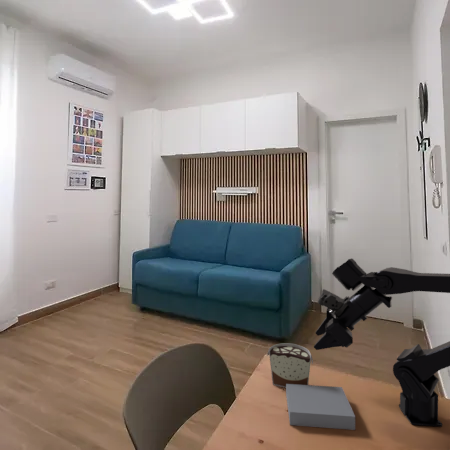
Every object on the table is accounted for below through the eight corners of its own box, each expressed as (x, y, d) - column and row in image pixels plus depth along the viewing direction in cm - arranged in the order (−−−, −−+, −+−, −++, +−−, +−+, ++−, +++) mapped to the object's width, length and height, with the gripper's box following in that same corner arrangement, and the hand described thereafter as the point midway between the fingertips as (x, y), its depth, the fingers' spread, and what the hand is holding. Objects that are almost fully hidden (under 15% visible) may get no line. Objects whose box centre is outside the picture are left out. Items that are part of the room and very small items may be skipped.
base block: (341, 398, 76) (341, 387, 75) (355, 429, 65) (355, 416, 65) (286, 395, 77) (286, 383, 77) (289, 424, 66) (289, 412, 66)
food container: (315, 381, 83) (315, 346, 83) (313, 393, 78) (313, 356, 77) (272, 372, 88) (272, 339, 88) (267, 383, 83) (267, 348, 82)
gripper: (336, 274, 87) (297, 307, 91) (337, 290, 69) (289, 330, 73) (365, 303, 84) (324, 336, 89) (374, 327, 67) (323, 367, 71)
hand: (315, 340), depth 80 cm, fingers open, 9 cm apart
